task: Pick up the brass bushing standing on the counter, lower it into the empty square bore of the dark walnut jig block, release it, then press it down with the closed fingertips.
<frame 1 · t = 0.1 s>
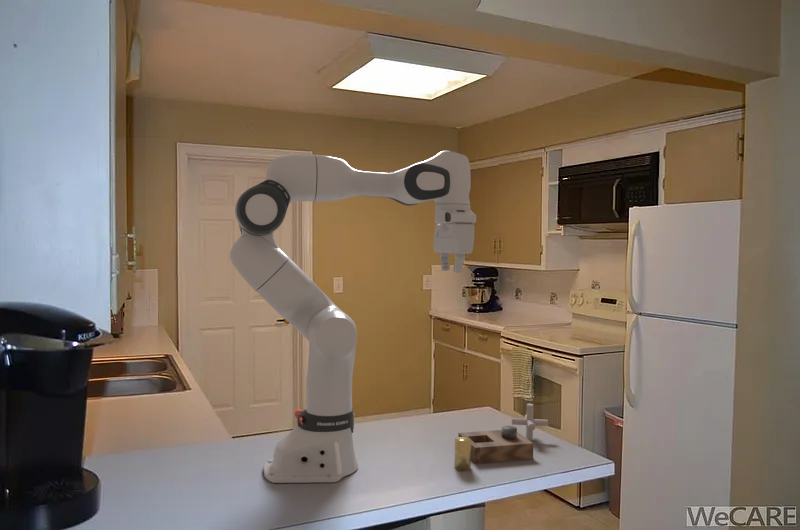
hand: (451, 271, 152), 48 cm above the counter, fingers open, 8 cm apart
pipe connector: (529, 440, 170), on the counter
jig: (494, 452, 159), on the counter
bushing: (462, 467, 148), on the counter
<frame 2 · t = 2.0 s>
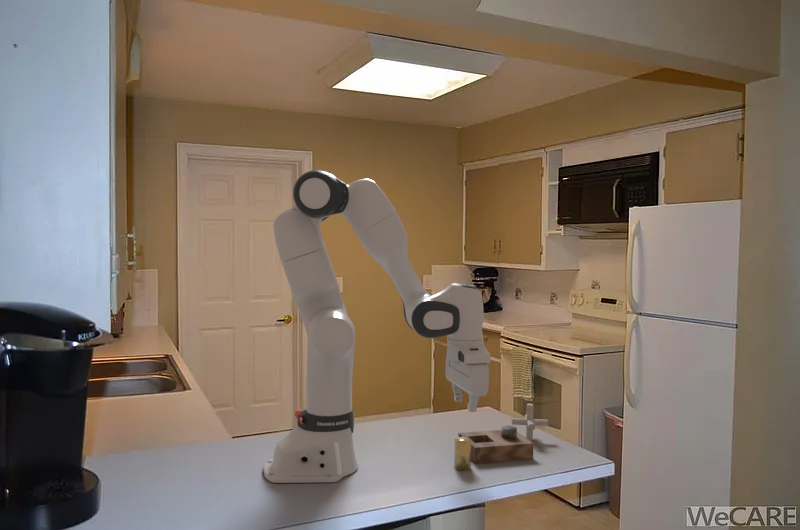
hand: (465, 406, 147), 15 cm above the counter, fingers open, 8 cm apart
nothing on the counter moved.
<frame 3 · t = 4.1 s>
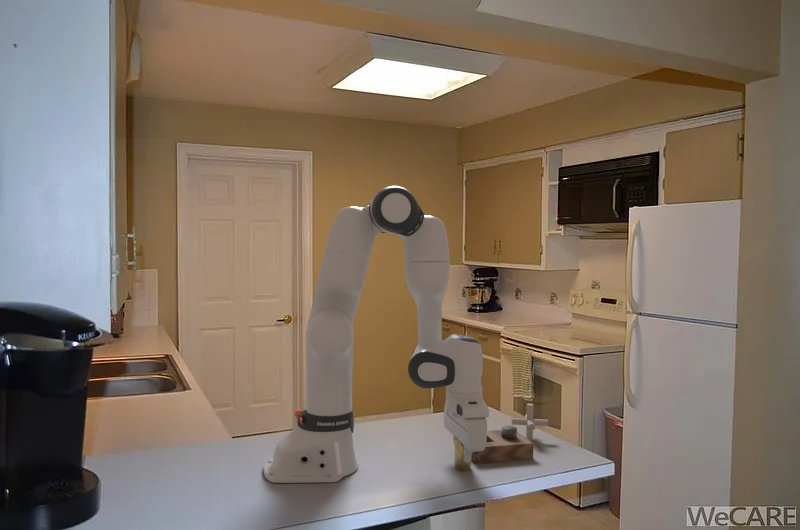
hand: (462, 457, 148), 3 cm above the counter, fingers closed on bushing, 4 cm apart
bushing: (462, 467, 148), on the counter, touching gripper
everything else where it was.
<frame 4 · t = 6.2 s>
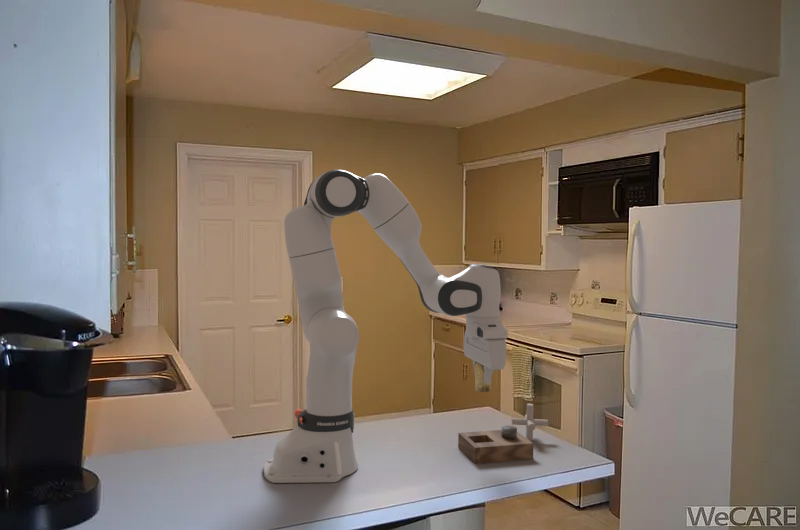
hand: (482, 380, 157), 20 cm above the counter, fingers closed on bushing, 4 cm apart
bushing: (483, 390, 157), point 17 cm above the counter, touching gripper
everything else where it was.
when the fingers open (5 cm above the counter, at t = 8.7 s): bushing drops 2 cm, resting in jig.
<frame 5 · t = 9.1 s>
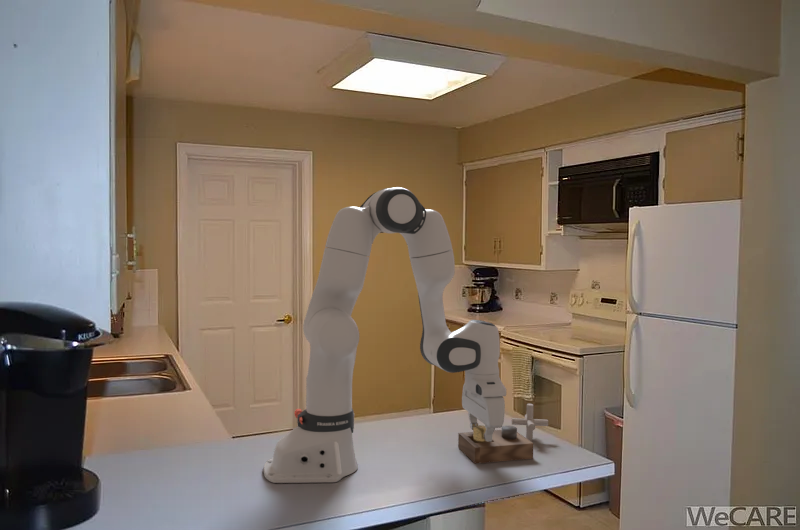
hand: (480, 434, 157), 5 cm above the counter, fingers open, 8 cm apart
bushing: (480, 454, 158), resting in jig
everything else where it was.
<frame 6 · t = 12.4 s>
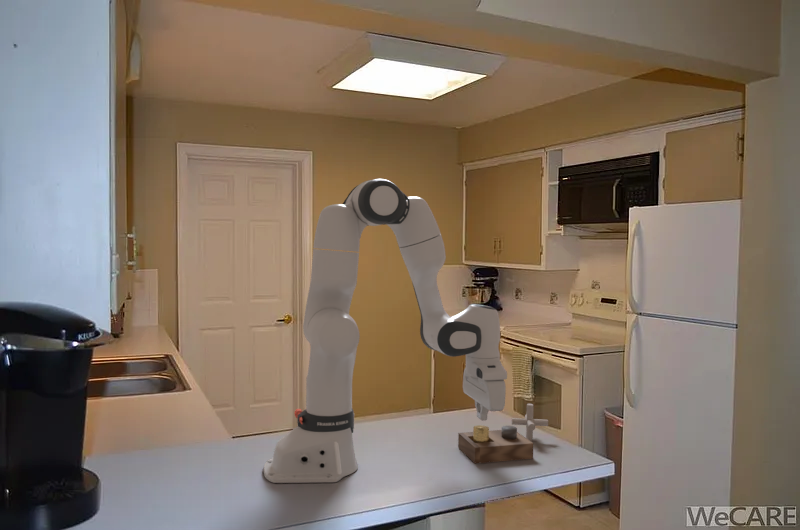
hand: (481, 419, 157), 9 cm above the counter, fingers closed
nothing on the counter moved.
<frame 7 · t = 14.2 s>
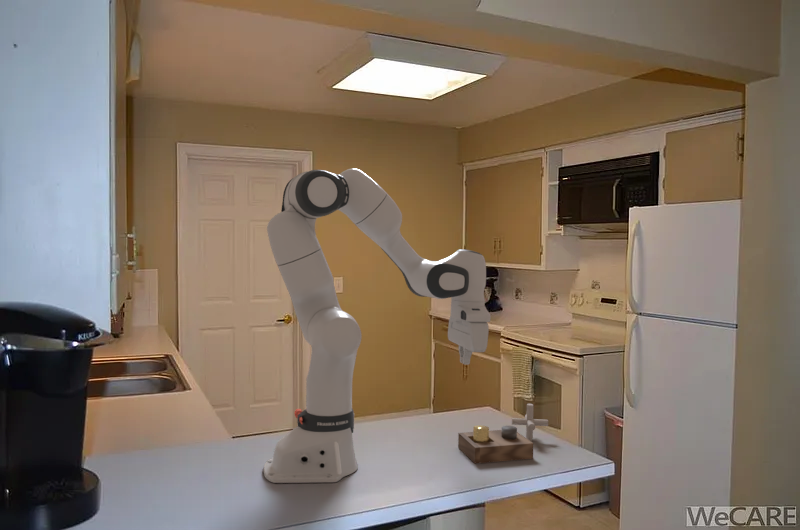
hand: (464, 363, 159), 23 cm above the counter, fingers closed
nothing on the counter moved.
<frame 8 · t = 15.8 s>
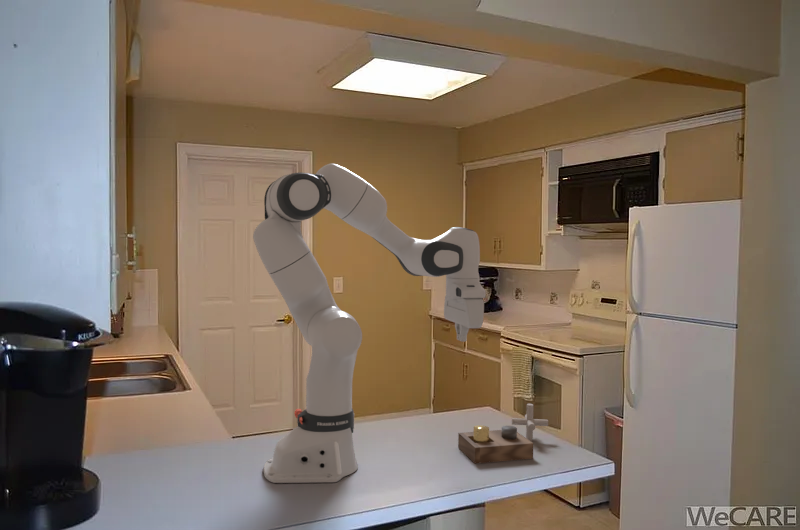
hand: (461, 340, 160), 29 cm above the counter, fingers closed
nothing on the counter moved.
at the end: bushing 0.0 cm from the target spot on the jig, point 0.0 cm above the jig's base; bushing tilted 0°; the gripper is holding nothing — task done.
